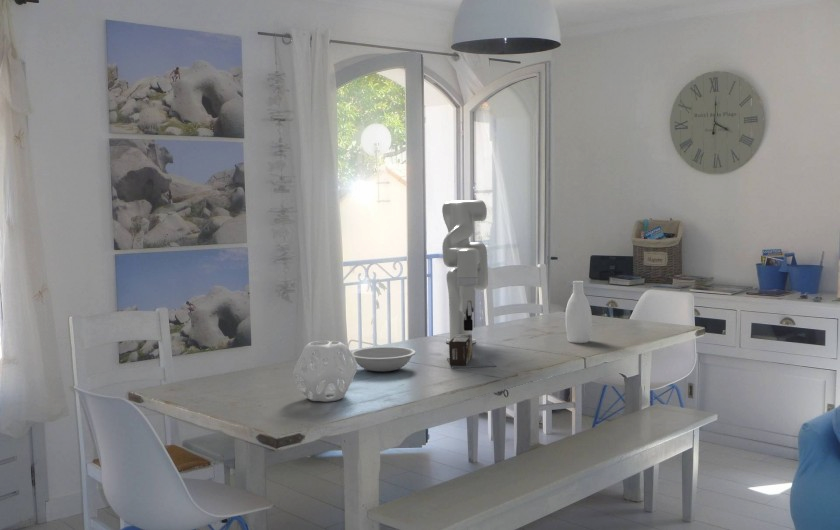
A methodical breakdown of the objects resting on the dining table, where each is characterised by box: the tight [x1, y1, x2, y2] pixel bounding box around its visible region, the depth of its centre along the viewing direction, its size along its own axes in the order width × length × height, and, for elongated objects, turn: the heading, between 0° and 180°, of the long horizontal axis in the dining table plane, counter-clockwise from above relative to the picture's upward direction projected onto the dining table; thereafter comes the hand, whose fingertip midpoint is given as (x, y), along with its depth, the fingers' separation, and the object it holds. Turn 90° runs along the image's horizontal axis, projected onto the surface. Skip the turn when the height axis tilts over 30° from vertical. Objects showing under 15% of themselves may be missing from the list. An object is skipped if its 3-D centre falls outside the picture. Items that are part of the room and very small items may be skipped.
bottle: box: [564, 280, 593, 344], centre depth 359 cm, size 11×11×25 cm
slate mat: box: [446, 356, 497, 369], centre depth 318 cm, size 18×16×1 cm
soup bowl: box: [350, 346, 417, 372], centre depth 307 cm, size 24×24×7 cm
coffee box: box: [448, 333, 473, 367], centre depth 318 cm, size 9×6×16 cm
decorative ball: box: [292, 340, 358, 403], centre depth 264 cm, size 20×20×17 cm
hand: (468, 330), depth 323 cm, fingers closed
